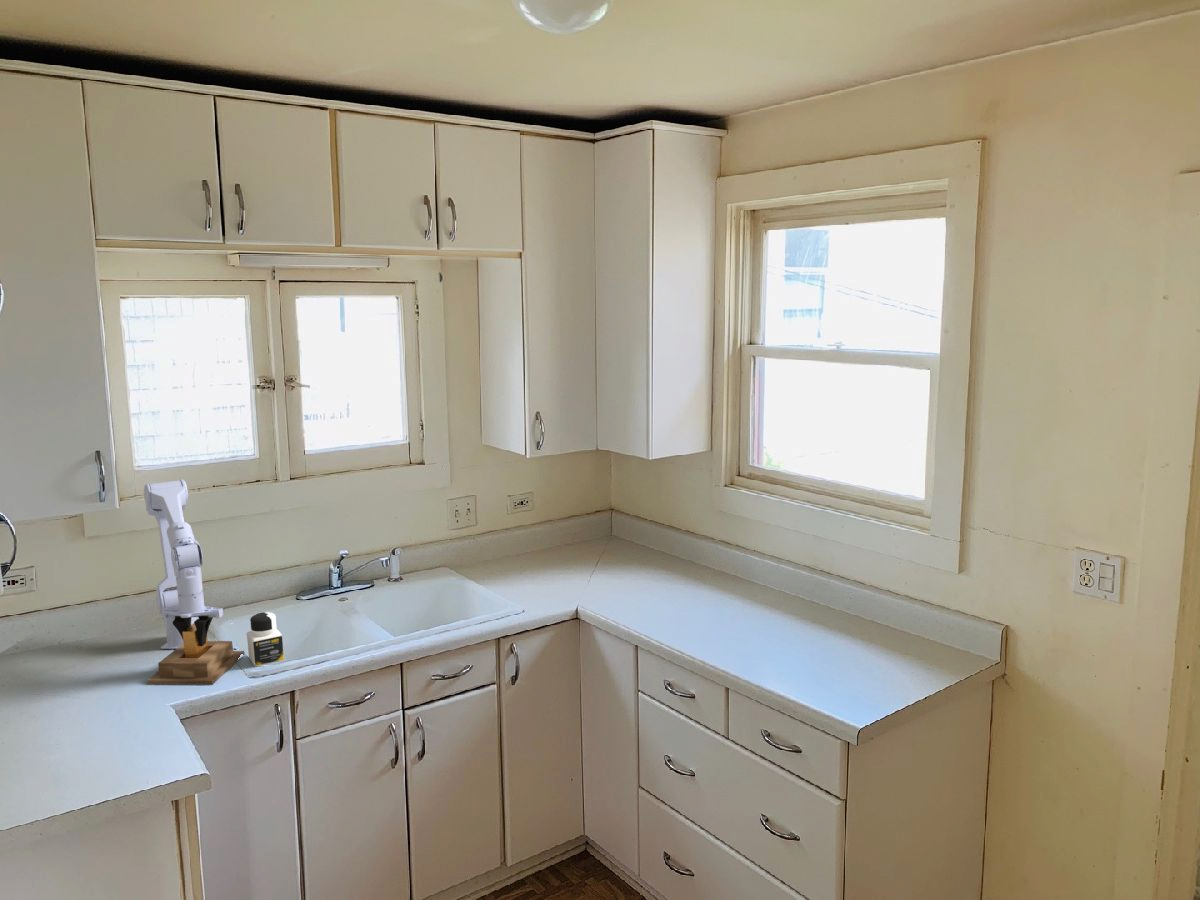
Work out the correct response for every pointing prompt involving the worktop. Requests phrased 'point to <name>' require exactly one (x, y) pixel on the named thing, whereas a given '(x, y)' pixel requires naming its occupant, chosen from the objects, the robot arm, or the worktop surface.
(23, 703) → the worktop surface
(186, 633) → the wooden peg block
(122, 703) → the worktop surface
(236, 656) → the well board
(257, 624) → the medicine bottle
